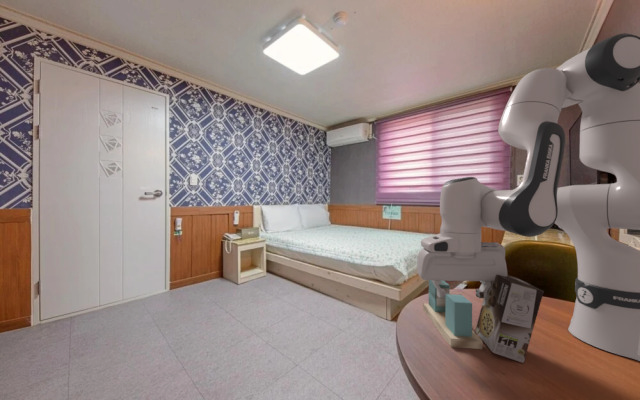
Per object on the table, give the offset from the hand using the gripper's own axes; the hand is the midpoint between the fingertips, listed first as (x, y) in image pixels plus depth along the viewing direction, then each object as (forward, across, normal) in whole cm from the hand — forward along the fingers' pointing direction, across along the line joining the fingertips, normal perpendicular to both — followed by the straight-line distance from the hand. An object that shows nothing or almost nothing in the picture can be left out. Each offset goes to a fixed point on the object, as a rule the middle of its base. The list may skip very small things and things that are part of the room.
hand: (460, 297), depth 59 cm
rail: (+10, +1, -5) cm, 12 cm away
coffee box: (+10, -6, +4) cm, 12 cm away
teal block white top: (+8, +1, 0) cm, 8 cm away
